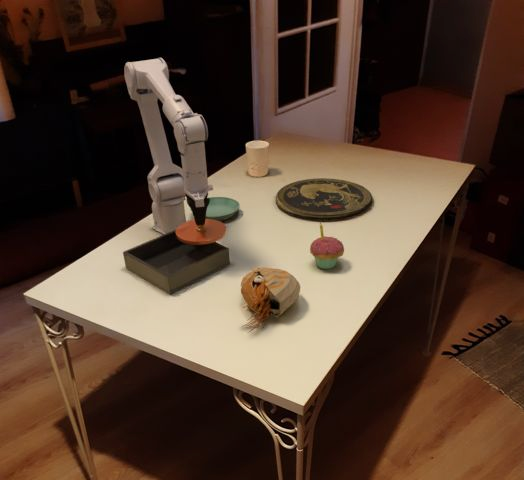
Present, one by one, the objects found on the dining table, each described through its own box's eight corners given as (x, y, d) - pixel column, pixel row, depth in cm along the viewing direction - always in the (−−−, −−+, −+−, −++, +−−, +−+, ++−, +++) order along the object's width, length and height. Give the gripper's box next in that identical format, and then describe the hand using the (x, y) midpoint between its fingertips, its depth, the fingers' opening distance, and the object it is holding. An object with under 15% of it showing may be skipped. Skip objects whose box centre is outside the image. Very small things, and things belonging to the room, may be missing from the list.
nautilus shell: (272, 346, 119) (212, 331, 125) (313, 291, 133) (257, 280, 139) (268, 316, 114) (206, 302, 120) (311, 262, 128) (253, 252, 134)
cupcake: (315, 274, 141) (317, 230, 133) (304, 259, 147) (305, 216, 140) (348, 269, 142) (351, 225, 135) (335, 254, 149) (338, 211, 141)
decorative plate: (375, 216, 161) (271, 214, 164) (375, 222, 163) (271, 220, 165) (370, 178, 185) (279, 177, 188) (369, 183, 186) (279, 182, 189)
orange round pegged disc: (165, 233, 145) (161, 206, 141) (203, 217, 152) (201, 191, 148) (198, 249, 138) (195, 221, 133) (236, 231, 145) (235, 204, 140)
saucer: (241, 204, 176) (241, 195, 174) (238, 224, 164) (238, 216, 162) (194, 204, 176) (193, 196, 175) (188, 225, 165) (187, 217, 163)
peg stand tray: (125, 268, 146) (122, 252, 143) (185, 242, 156) (183, 226, 153) (170, 294, 135) (167, 277, 132) (230, 264, 146) (229, 248, 143)
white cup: (243, 176, 194) (242, 147, 187) (250, 168, 199) (249, 139, 193) (265, 178, 192) (265, 149, 185) (272, 170, 197) (271, 141, 191)
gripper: (214, 179, 130) (219, 233, 138) (208, 158, 141) (212, 209, 149) (184, 182, 129) (190, 236, 137) (179, 160, 140) (185, 211, 149)
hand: (200, 222), depth 143 cm, fingers closed on orange round pegged disc
